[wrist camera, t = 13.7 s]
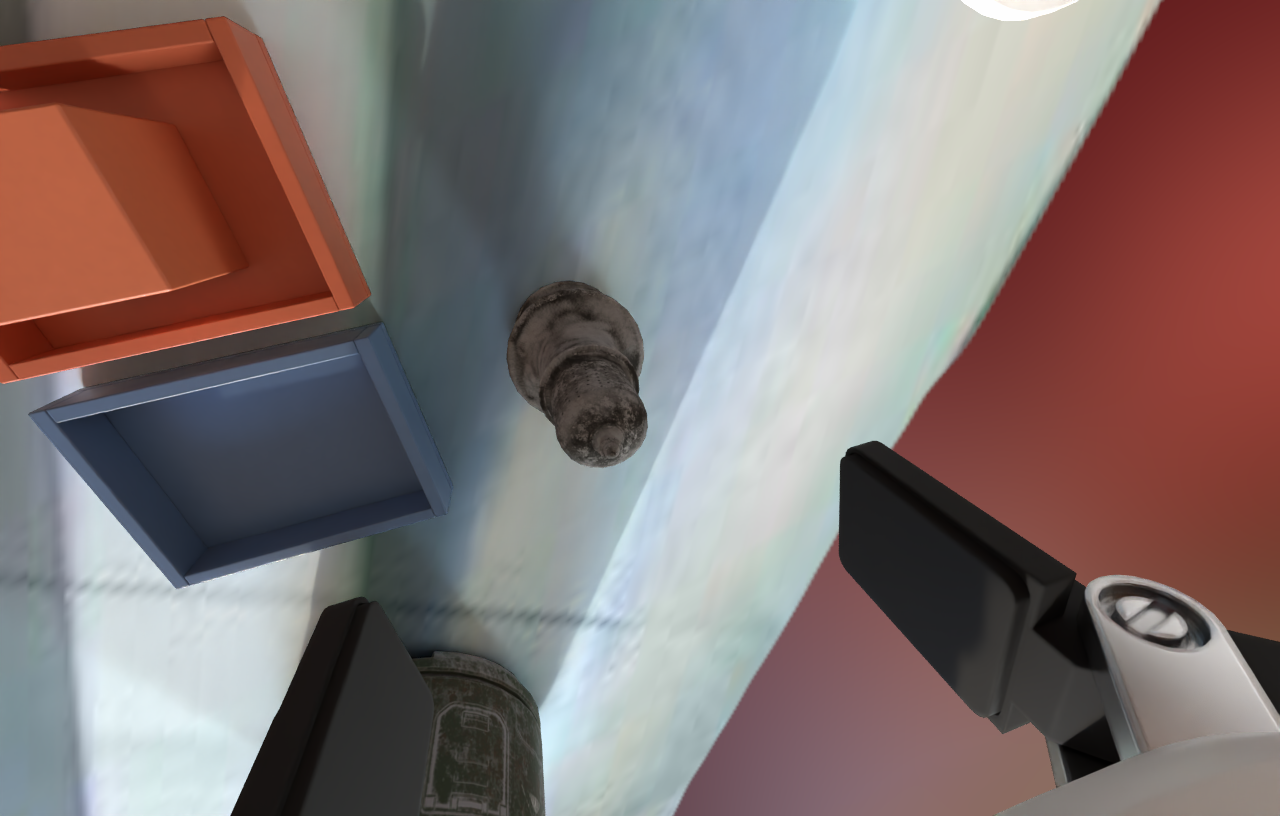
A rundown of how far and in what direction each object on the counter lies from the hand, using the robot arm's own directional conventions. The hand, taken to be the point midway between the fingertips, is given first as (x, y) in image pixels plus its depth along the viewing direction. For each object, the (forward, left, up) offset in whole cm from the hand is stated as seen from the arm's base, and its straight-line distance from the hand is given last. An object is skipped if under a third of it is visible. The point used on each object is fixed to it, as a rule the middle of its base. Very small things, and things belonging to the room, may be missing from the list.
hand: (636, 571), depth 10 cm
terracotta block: (+14, -9, -16) cm, 22 cm away
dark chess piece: (0, 0, -16) cm, 16 cm away
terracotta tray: (+14, -9, -16) cm, 23 cm away
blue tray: (+14, +2, -16) cm, 21 cm away
